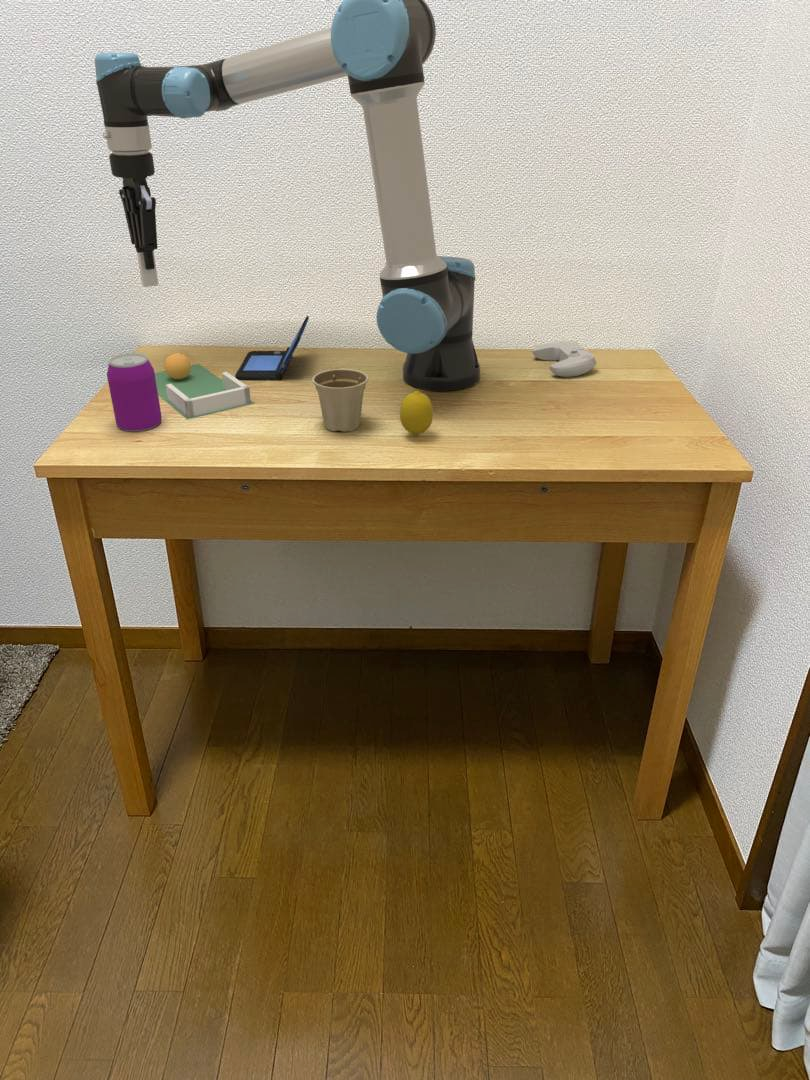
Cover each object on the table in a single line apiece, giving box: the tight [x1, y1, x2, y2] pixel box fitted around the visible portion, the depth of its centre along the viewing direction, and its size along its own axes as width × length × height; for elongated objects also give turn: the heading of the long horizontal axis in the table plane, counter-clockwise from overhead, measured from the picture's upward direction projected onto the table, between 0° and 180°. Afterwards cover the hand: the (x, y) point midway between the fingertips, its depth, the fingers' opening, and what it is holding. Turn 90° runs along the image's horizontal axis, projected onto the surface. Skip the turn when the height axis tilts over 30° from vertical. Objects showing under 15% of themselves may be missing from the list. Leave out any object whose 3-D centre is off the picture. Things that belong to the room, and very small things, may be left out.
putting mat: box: [155, 363, 255, 420], centre depth 162 cm, size 26×13×1 cm, turn 34°
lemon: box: [399, 390, 434, 437], centre depth 142 cm, size 6×6×8 cm
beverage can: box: [106, 352, 163, 432], centre depth 145 cm, size 8×8×12 cm
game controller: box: [531, 340, 598, 378], centre depth 172 cm, size 14×4×10 cm
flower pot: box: [311, 368, 369, 433], centre depth 145 cm, size 9×9×9 cm
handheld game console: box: [234, 315, 310, 382], centre depth 170 cm, size 16×13×9 cm
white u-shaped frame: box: [166, 371, 252, 418], centre depth 155 cm, size 10×12×3 cm
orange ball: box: [164, 352, 192, 380], centre depth 165 cm, size 5×5×5 cm
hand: (150, 285), depth 164 cm, fingers closed
